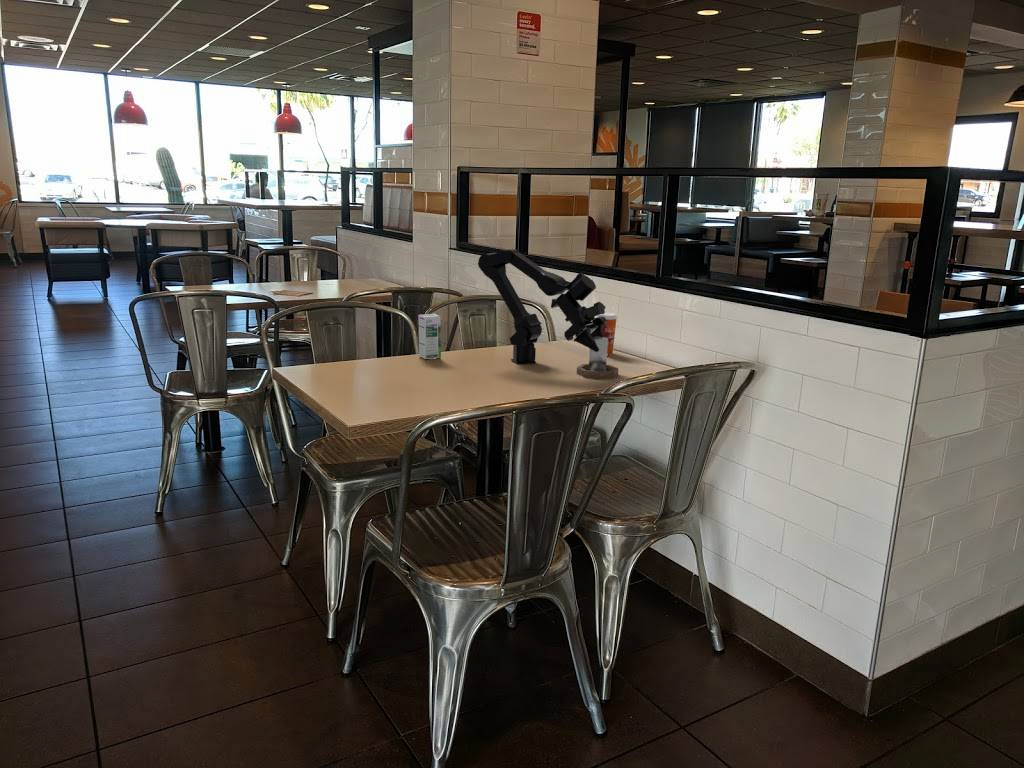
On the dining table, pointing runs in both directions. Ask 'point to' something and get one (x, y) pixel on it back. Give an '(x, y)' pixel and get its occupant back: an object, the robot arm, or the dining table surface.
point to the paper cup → (609, 329)
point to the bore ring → (609, 372)
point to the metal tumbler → (598, 355)
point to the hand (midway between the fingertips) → (602, 349)
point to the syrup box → (430, 336)
